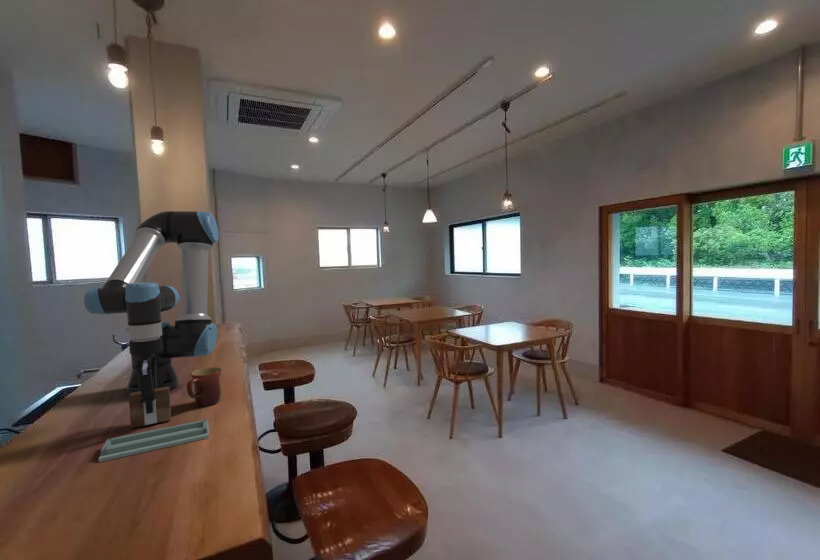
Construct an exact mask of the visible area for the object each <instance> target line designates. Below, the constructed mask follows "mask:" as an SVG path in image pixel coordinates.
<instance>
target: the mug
mask: <svg viewBox="0 0 820 560" xmlns="http://www.w3.org/2000/svg"><path fill="white" fill-rule="evenodd" d="M222 372H223V368H221V367H219V366H218V367H217V366H216V367H215V366H213V367H203V368H199V369H196V370H193V371H191V373H190V376H191V379H190V380H188V381H187V383H186V391H187V395H188V396H189V398H192V399H194V403H195V404H196V405H197V406H198V407H208V406H212V405H215V404H217V403H218V402H220V400H221V397H222V391H221V387H222V386H221V375H222ZM193 385H194V388H193Z"/></svg>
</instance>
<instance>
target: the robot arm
mask: <svg viewBox="0 0 820 560" xmlns="http://www.w3.org/2000/svg"><path fill="white" fill-rule="evenodd" d="M217 224H218V223H217V222H216V218H215V217H214V216H213V214H212V213H211V212H208V211H199V210H196V211H179V210H178V211H173V210H167V211H162V212H159V213H156V214H153V215H151V216H150V217H149V218H147V219H145V220H144V221H143V222H141V224H139V226H138V227H137V228H136V230H134V233H133V240H132V242H131V243H130V245H129V247H127V250H126V251H125V252H124V254H123V256H122V257H121V259H120V260H119V262H118V263H117V265H116V267H115V268H114V270H113V271H112V273H111V274H110V276H109V277H108V279H107V280H106V282H105V283H104V285H103V286H102V287H96V288H91V289H89V290H87V291H86V292H85V295H84V299H83V303H84V307H85V309H86V310H87V312H89V313H90V314H93V315H94V314H95V315H111V314H112V315H113V314H115V315H116V314H126V316H127V328H125V332H126V333H127V332H128V338H129V343H128V346H129V354H130V359H131V373H130V375H129V379H128V383H127V384H126V393H127V395H128V396H129V395H130V393H132V392H138V391H141V396H142V400H140V403H143V406H144V420H145V425H144V426H149V425H148V424H150V425H154V424H153V423H155V424H158V423H157V414H156V400H155V397H154V389H158V388H164V387H169V390H170V391H171V390H173V389H174V388H176V387H177V386H178V385H179V377H178V374H177V373H176V370H175V368H174V366H173V364H172V363H173V362H172V359H179V358H180V359H181V358H182V359H183V358H199V357H207V356H209V355H210V354H212V352H213V351H214V349H215V346H216V344H217V340H218V326H217V325H216V324H215V323H214V322H212V321H213V320H212V318H211V317H210V316H209V315H208V294H209V293H208V291H209V290H208V288H209V287H208V286H209V285H208V283H209V282H208V280H209V279H208V278H209V252H210V251H211V250H213V249H214V247H213V246H214V244H216V243H217V242H219V237H220V234H219V233H220V232H219V228H218V225H217ZM169 243H172V244H173V243H174V244H175V243H176V246H177V248H178V249H179V250H181V265H180V267H181V269H180V270H181V271H180V273H181V275H180V276H181V277H180V294H179V292H178V290H177V289H176V287H175V288H174V287H173V286H171V285H159V283H157V282H156V281H149V282H148V281H144V282H141V280H142V279H143V277H144V276H145V273H146V272H147V270H148V268H149V266H150V265H151V263H152V261H153V260H154V258H155V256H156V254H157V252H158V251H159V250H161V249H162V248H164V247H165V245H167V244H169ZM179 301H180V302H179ZM179 303H180V308H179V309H180V311H179V312H180V314H179V316H178V317H177V318H176V319H175V320H174V325H171V323H170V321H162V314H161V313H162V312H163V313H164V312H165V311H166V312H167V311H169V310H172V309H173V308H174V307H176V306H177V305H178V304H179Z"/></svg>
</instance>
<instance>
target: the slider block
mask: <svg viewBox="0 0 820 560" xmlns="http://www.w3.org/2000/svg"><path fill="white" fill-rule="evenodd" d="M170 391H171V389H170V390H169V387H164V388H158V389H154V397H155V400H156V414H157V423H153V424H152V425H154V424H160V423H164V422H170V421H171V419H172V410H171V395H170V394H171V393H170ZM140 400H142V396H141V391H138V392H132V393H130V395H129V394H128V401H129V402H128V403H129V418H130V429H133V428H139V427H143V426H146V425H145V420H144V406H143V403H140ZM150 425H151V424H148V425H147V426H150Z"/></svg>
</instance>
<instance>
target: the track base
mask: <svg viewBox="0 0 820 560" xmlns="http://www.w3.org/2000/svg"><path fill="white" fill-rule="evenodd" d="M209 430H210V429H209V421H208V419H207V418H206V419H202V420H201V419H200V420H197V421H196V420H195V421H192V422H187V423H182V424H177V425H173V426H166V427H161V428H157V429H153V430H147V431H142V432H136V433H132V434H127V435H121V436H116V437H111V438H107V439H106V440H105V442H104V445H103V446H102V448H101V450H100V455H99V457H98V463H101V462H106V461H111V460H116V459H119V458H124V457H129V456H133V455H138V454H141V453H142V454H143V453H146V452H147V453H149V452H151V451H157V450H160V449H164V448H169V447H174V446H179V445H183V444H188V443H193V442H197V441H201V440H205V439H209V432H210V431H209Z"/></svg>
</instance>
